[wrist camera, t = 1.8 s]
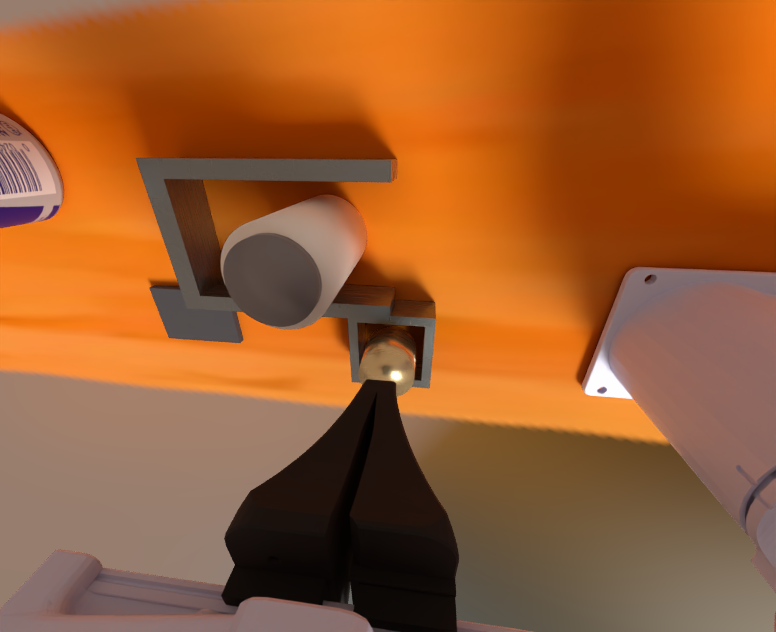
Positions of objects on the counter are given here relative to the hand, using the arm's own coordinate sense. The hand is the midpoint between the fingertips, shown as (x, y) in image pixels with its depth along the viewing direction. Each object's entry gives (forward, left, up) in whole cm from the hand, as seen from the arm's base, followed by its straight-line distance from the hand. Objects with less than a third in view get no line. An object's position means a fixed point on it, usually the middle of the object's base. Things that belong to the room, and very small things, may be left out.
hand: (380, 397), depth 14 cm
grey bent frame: (+4, -4, -6) cm, 8 cm away
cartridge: (+3, -6, -6) cm, 9 cm away
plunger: (0, 0, -4) cm, 4 cm away
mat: (+12, -1, -6) cm, 14 cm away
